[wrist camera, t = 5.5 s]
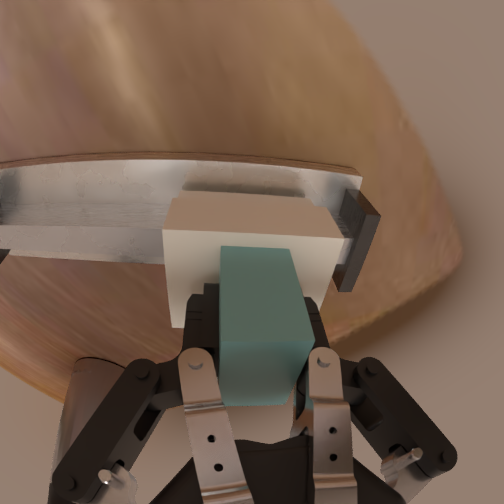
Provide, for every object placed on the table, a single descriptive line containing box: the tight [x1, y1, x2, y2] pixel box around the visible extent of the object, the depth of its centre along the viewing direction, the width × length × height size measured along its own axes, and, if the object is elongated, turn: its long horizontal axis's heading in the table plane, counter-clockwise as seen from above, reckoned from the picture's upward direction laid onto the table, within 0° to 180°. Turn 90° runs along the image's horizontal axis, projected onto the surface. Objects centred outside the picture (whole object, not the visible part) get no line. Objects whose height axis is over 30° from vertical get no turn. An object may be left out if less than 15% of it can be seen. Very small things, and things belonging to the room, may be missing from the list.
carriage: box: [162, 190, 345, 406], centre depth 15 cm, size 8×6×11 cm
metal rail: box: [0, 152, 381, 292], centre depth 18 cm, size 28×8×5 cm, turn 84°
